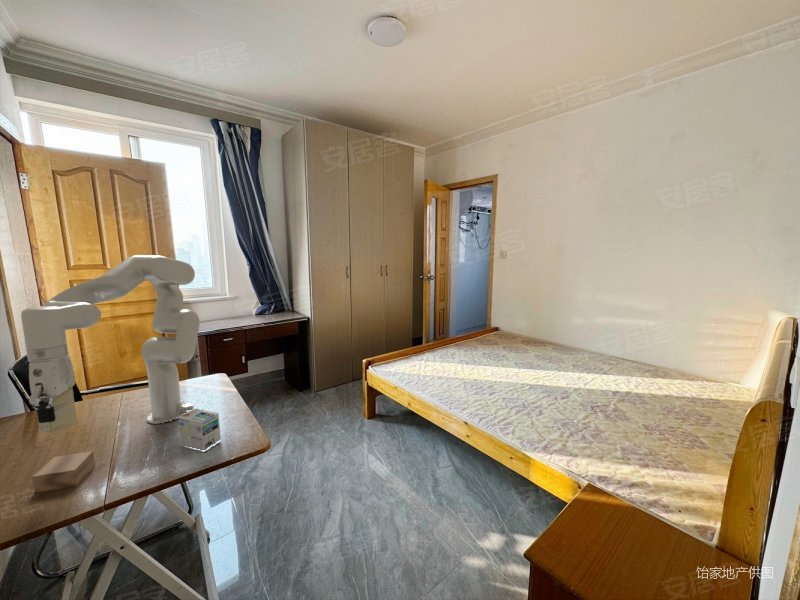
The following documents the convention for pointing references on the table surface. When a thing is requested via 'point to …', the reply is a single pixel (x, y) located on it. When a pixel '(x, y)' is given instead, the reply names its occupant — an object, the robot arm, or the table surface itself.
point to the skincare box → (61, 412)
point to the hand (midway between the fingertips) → (57, 414)
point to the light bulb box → (199, 429)
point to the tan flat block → (63, 471)
